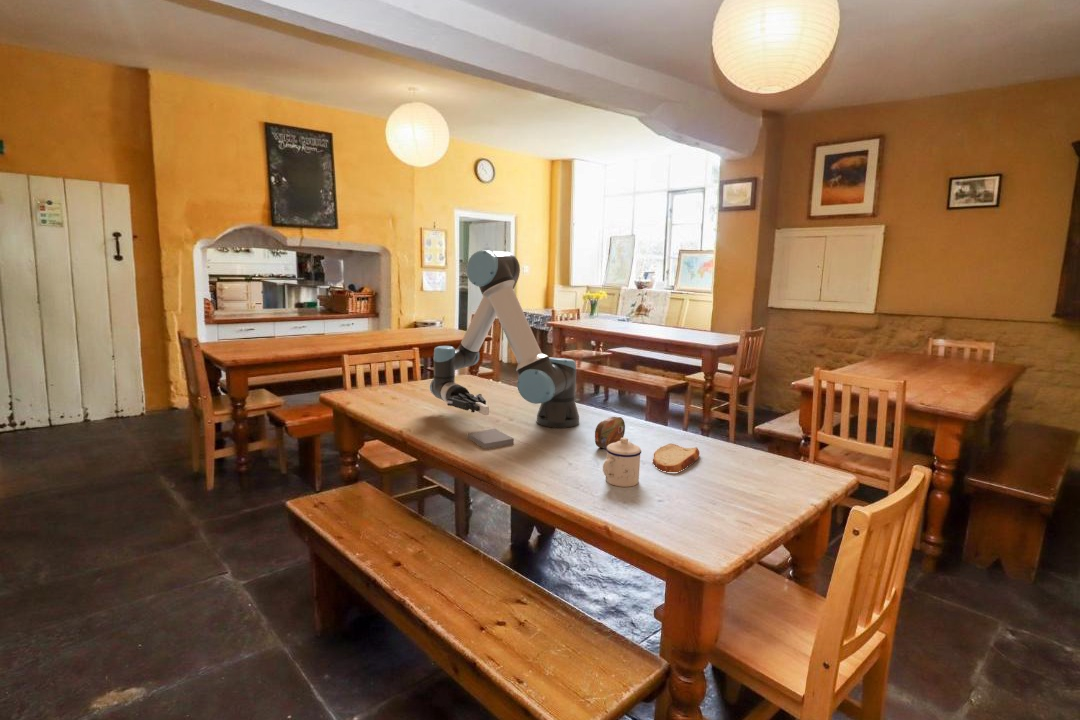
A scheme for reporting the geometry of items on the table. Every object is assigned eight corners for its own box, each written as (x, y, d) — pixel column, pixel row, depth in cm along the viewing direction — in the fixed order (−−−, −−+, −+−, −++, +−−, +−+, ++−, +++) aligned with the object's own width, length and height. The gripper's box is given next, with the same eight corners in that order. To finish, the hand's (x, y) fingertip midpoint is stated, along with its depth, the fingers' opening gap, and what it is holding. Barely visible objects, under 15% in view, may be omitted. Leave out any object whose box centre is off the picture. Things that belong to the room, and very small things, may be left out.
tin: (601, 452, 169) (602, 425, 168) (592, 449, 171) (593, 423, 170) (625, 440, 181) (626, 415, 180) (616, 438, 183) (618, 413, 182)
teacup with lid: (619, 471, 153) (622, 431, 151) (646, 482, 147) (649, 439, 145) (589, 482, 146) (591, 439, 143) (616, 493, 139) (619, 448, 137)
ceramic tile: (467, 433, 178) (485, 443, 169) (495, 428, 184) (513, 438, 174) (467, 439, 179) (485, 450, 169) (495, 435, 184) (513, 445, 174)
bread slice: (664, 476, 152) (665, 463, 152) (635, 454, 169) (636, 442, 169) (722, 471, 157) (723, 458, 157) (688, 450, 174) (689, 438, 174)
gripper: (472, 403, 200) (504, 419, 180) (438, 407, 193) (467, 425, 173) (472, 382, 199) (504, 397, 179) (437, 386, 192) (467, 401, 172)
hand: (486, 410), depth 176 cm, fingers closed
